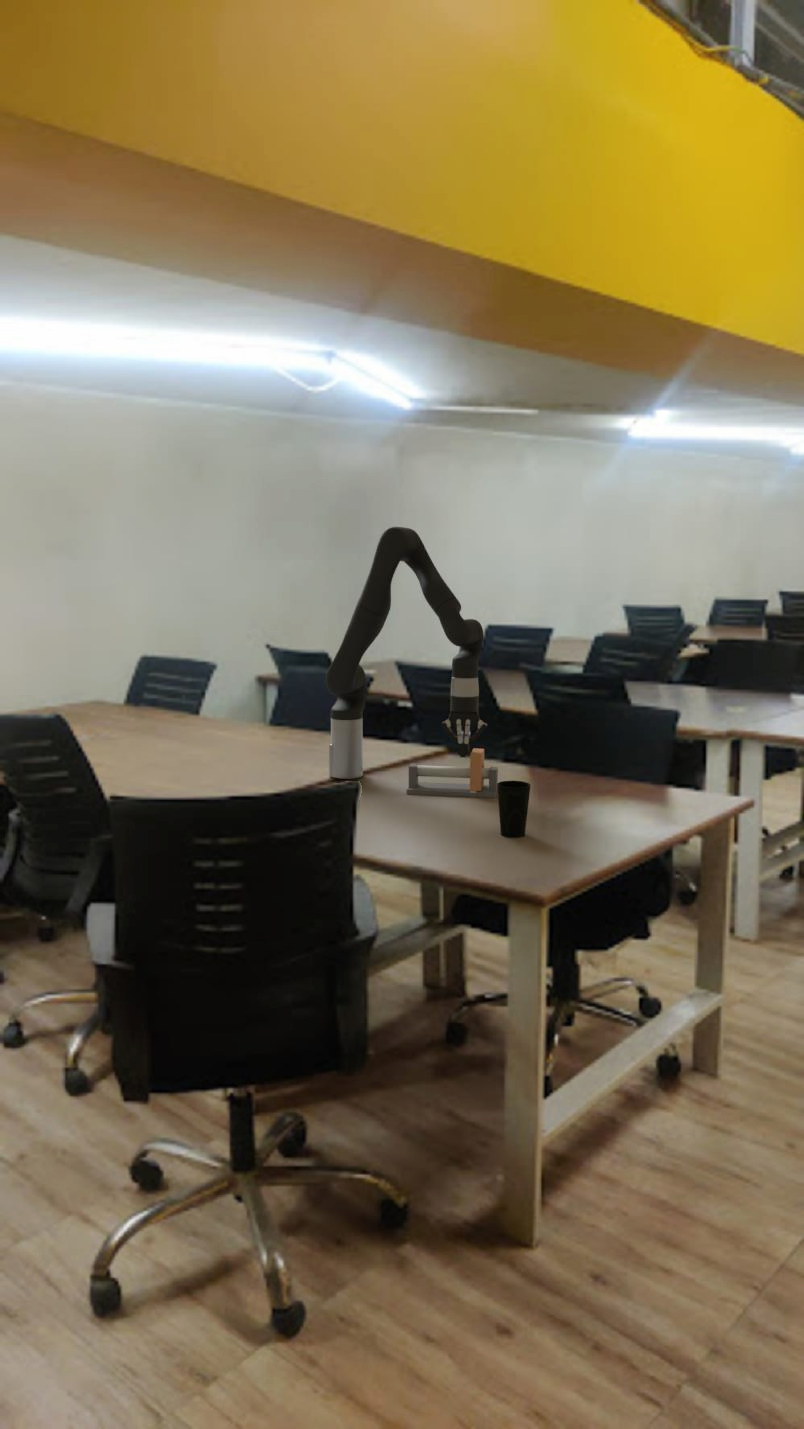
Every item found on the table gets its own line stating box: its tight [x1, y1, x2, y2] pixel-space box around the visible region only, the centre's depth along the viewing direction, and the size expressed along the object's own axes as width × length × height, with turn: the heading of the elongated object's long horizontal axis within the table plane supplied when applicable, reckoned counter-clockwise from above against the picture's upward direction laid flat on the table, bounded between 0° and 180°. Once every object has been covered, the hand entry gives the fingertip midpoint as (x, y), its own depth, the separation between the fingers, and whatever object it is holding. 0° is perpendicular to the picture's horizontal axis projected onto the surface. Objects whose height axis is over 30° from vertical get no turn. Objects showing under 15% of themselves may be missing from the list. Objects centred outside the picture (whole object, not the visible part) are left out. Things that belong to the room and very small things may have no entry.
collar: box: [469, 747, 485, 791], centre depth 278 cm, size 3×8×10 cm, turn 170°
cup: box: [497, 780, 532, 839], centre depth 238 cm, size 8×8×12 cm
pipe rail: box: [406, 763, 499, 799], centre depth 280 cm, size 24×10×7 cm, turn 80°
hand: (463, 756), depth 279 cm, fingers closed
